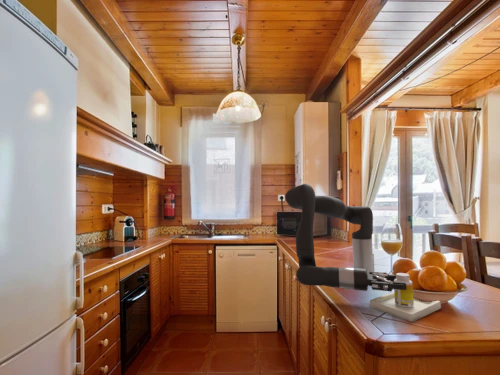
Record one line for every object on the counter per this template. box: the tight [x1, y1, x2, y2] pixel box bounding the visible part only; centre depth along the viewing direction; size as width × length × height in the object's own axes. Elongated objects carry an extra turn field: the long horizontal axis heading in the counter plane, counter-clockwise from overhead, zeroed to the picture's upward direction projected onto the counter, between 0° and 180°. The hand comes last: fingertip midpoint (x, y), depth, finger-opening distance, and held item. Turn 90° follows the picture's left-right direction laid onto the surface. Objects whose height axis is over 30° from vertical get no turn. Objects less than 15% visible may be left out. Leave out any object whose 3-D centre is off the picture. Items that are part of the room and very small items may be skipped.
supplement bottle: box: [393, 272, 414, 308], centre depth 90 cm, size 6×6×10 cm
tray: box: [369, 291, 442, 323], centre depth 90 cm, size 18×14×2 cm
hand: (403, 282), depth 90 cm, fingers open, 8 cm apart
